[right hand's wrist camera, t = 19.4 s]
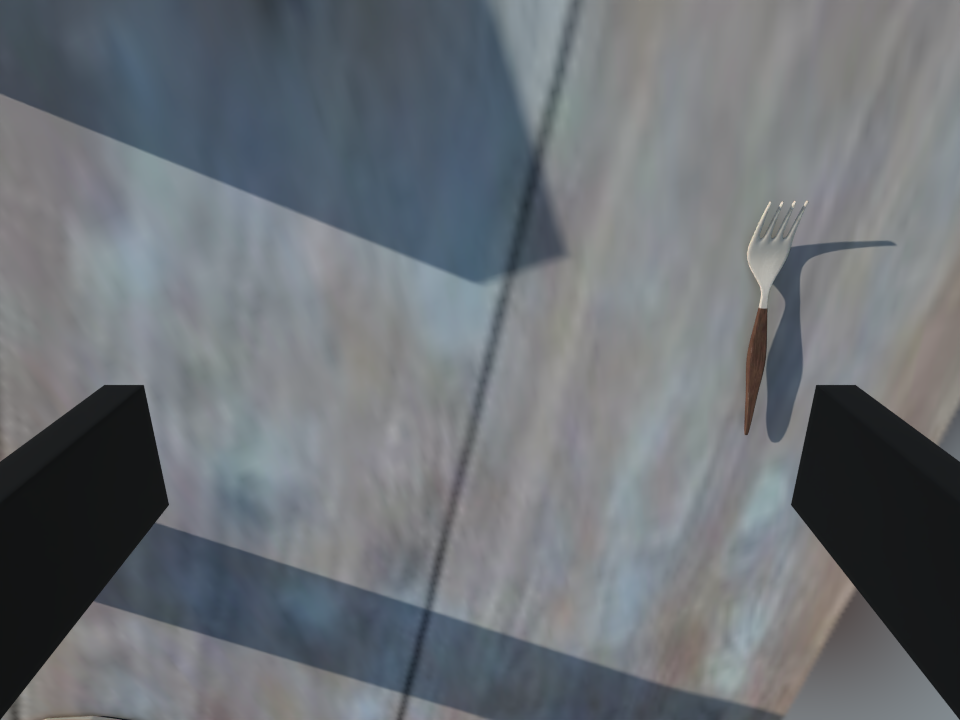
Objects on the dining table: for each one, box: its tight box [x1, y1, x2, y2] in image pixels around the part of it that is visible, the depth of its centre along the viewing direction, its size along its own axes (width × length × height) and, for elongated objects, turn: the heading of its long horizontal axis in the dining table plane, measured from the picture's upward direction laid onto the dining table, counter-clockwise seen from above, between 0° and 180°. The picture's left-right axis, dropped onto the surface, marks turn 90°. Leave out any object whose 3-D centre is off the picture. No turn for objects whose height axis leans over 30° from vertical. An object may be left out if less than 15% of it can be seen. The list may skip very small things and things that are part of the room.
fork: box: [744, 200, 808, 435], centre depth 41 cm, size 3×16×2 cm, turn 2°
